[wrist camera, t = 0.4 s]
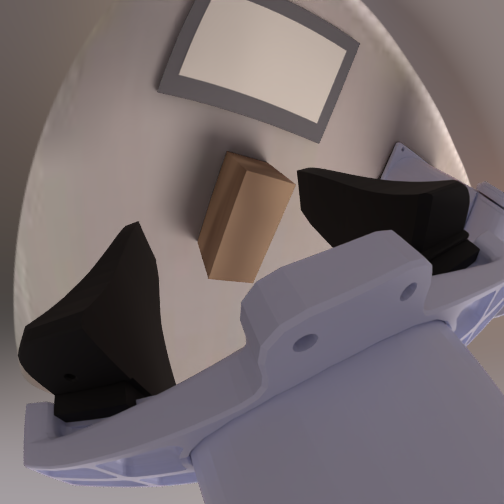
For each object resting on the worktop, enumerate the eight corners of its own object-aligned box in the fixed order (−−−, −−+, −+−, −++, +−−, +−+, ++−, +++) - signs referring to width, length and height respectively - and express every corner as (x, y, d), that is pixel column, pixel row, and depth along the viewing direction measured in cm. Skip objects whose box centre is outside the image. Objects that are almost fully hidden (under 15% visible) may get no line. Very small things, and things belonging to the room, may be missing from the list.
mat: (355, 43, 17) (360, 43, 16) (315, 142, 21) (319, 144, 21) (209, -26, 11) (211, -29, 11) (157, 92, 16) (157, 92, 15)
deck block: (267, 162, 21) (295, 184, 17) (235, 247, 25) (252, 283, 21) (226, 151, 20) (246, 170, 16) (197, 242, 23) (208, 278, 19)
